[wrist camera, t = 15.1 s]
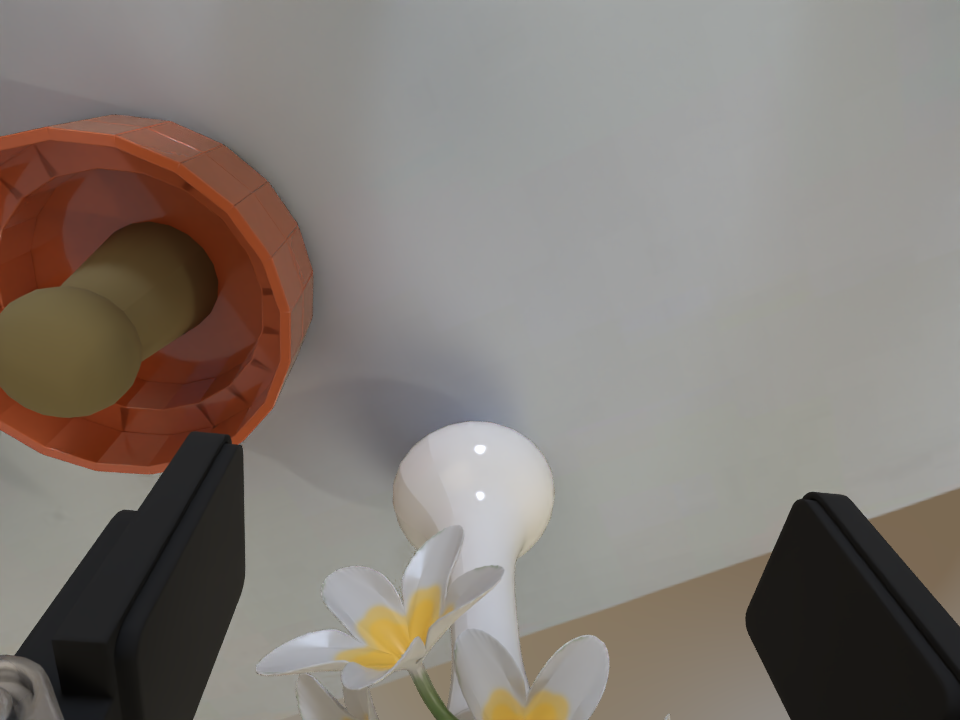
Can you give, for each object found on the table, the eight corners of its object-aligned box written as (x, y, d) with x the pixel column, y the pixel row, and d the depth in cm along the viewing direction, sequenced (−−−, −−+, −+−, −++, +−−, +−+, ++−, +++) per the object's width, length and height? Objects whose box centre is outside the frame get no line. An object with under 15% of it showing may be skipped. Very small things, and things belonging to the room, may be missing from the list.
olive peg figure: (131, 345, 35) (12, 458, 26) (74, 239, 33) (-84, 319, 23) (237, 316, 35) (157, 420, 25) (187, 207, 33) (77, 274, 23)
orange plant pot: (-32, 94, 30) (-145, 104, 25) (318, 136, 32) (291, 155, 26) (25, 397, 37) (-53, 461, 31) (312, 418, 39) (290, 484, 33)
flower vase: (467, 283, 36) (516, 679, 13) (620, 508, 43) (823, 1016, 20) (280, 401, 38) (47, 908, 15) (454, 595, 45) (469, 1138, 23)
